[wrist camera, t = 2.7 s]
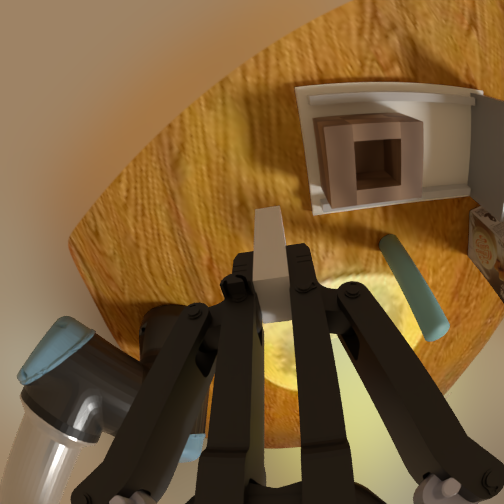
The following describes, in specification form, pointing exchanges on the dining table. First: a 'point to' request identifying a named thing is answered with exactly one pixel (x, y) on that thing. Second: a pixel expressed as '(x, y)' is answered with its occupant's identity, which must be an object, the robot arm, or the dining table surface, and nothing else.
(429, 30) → the dining table surface
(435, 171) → the slide base
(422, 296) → the dowel
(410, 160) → the socket block
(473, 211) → the coffee box
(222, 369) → the robot arm
